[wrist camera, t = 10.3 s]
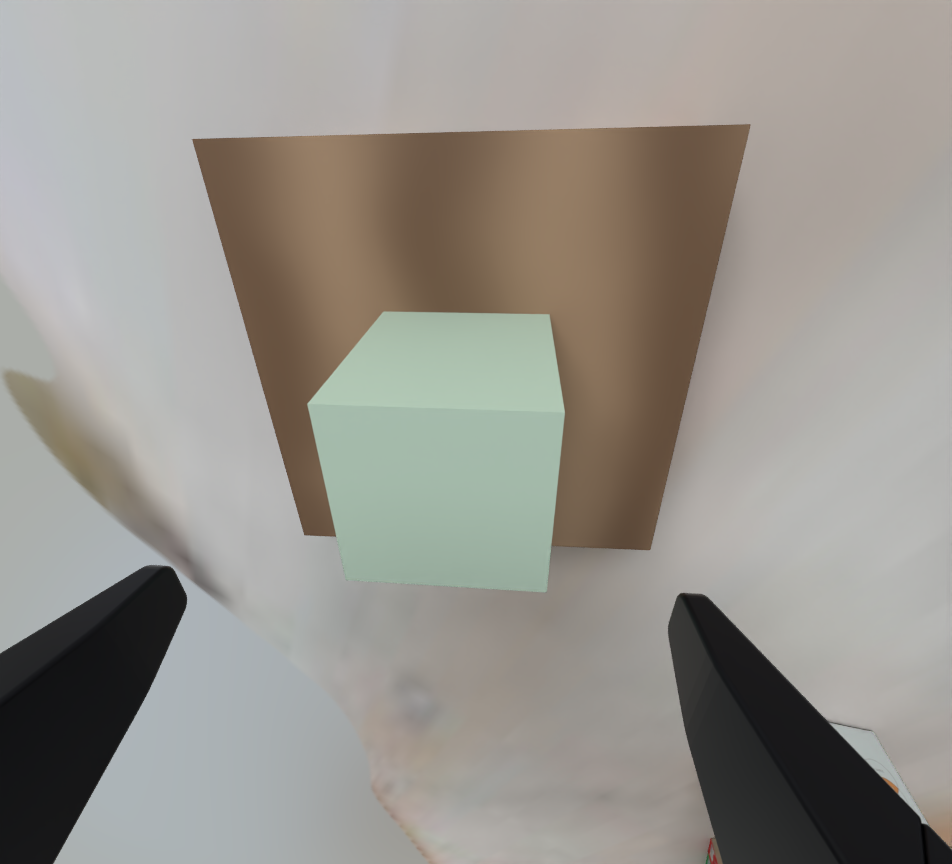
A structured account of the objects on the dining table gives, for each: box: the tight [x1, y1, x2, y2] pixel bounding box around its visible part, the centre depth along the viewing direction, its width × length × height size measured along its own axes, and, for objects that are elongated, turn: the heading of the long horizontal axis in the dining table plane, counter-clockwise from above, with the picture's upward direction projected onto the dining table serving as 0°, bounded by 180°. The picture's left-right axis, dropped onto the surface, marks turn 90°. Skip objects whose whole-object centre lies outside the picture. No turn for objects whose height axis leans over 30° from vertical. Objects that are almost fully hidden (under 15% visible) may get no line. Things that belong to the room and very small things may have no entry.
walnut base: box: [192, 124, 751, 550], centre depth 17 cm, size 14×14×4 cm
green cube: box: [307, 312, 565, 592], centre depth 13 cm, size 5×5×6 cm
